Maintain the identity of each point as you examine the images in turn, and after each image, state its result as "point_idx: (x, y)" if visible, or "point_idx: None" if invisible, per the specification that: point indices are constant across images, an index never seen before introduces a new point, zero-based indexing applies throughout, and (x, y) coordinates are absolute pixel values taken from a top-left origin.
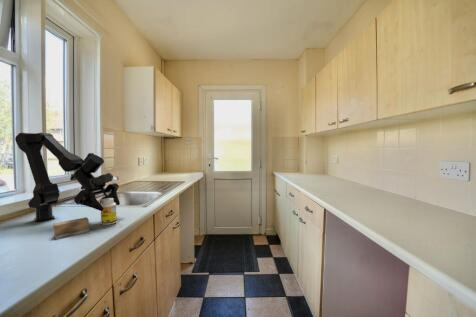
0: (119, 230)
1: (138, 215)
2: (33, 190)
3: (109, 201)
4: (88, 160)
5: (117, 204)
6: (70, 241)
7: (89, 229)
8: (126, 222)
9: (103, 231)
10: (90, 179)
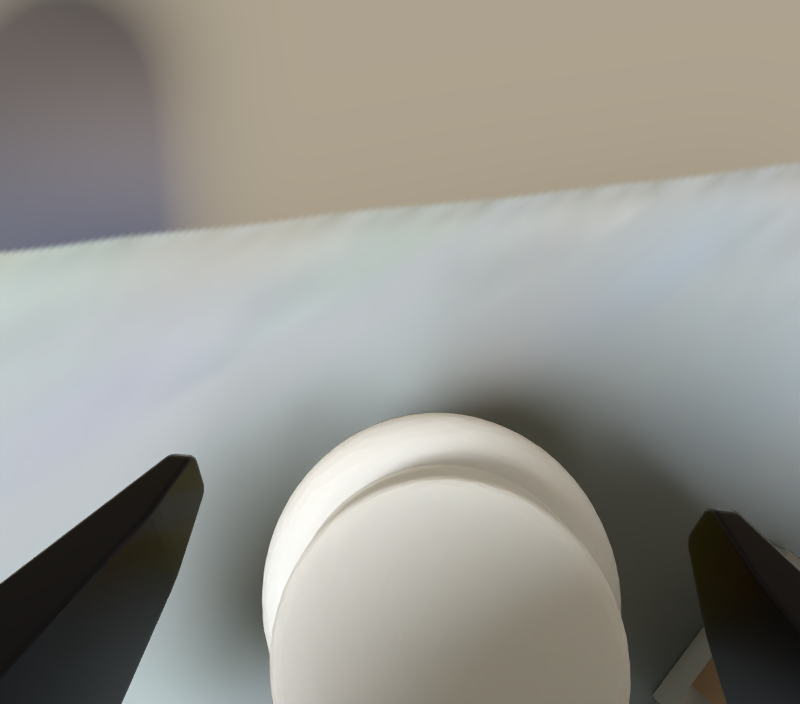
0: (666, 204)
1: (91, 302)
2: None
3: (552, 511)
4: None
5: (194, 507)
6: None
7: (785, 551)
8: (388, 291)
9: (726, 371)
10: None
